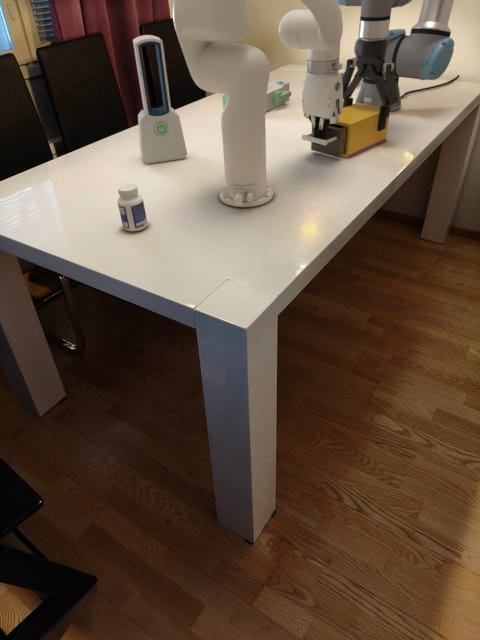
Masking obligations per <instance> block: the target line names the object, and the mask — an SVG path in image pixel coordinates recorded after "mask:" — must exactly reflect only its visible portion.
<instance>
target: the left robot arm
mask: <svg viewBox="0 0 480 640" xmlns="http://www.w3.org/2000/svg"><path fill="white" fill-rule="evenodd" d="M298 2H300V3H302V4H303V5H304V6H305V7H306V8H307V9H292V10H289V11H288V12H287V13H285V14H284V15H283V16H282V18H281V20H280V22H279V24H278V25H279V26H278V36H279V39H280V41H281V42H282V43H283V45H284V46H286V47H288V48H291V49H297V50H307V68H306V70H307V71H306V72H305V74H304V79H303V86H302V93H301V94H302V96H301V109H302V110H301V111H302V112H303V117H304V118H306V119H307V120H309V122H310V124H311V129H312V128H314V137H315V138H319V139H323V140H326V132H327V127H329V125H330V124H334V123H337V122H339V117H338V115H340V114H342V110H343V83H342V76H341V73H342V72H340V71H341V70H342V69H343V64H342V63H340V52H341V39H342V36H343V33H344V32H343V31H344V23H343V22H344V21H343V12H342V9H341V7H340V5H339V3H338V0H298ZM172 21H173V26H174V30H175V33H176V36H177V39H178V43H179V45H180V48H181V52H182V54H183V57H184V60H185V63H186V66H187V69H188V72H189V75H190V77H191V79H192V81H193V82H194V84H195V85H196V86H197V87H198V88H199V89H200V90H203V91H205V92H208V93H212V94H217V95H219V94H220V95H227V96H228V99H227V102H226V105H225V107H224V110H222V113H221V117H220V118H221V119H220V126H221V137H222V153H223V166H224V180H225V181H224V182H225V186H224V187H223V188H222V189H220V191H219V199H220V201H221V202H222V203H224V204H225V205H227V206H231V207H236V208H253V207H258V206H261V205H264V204H266V203H269V202H270V201H271V200H272V199H273V197H274V189H273V188H272V187H271V186H270V185H268V184H267V132H266V131H267V130H266V112H265V107H266V95H267V88H268V82H269V81H270V75H271V74H270V73H271V71H270V70H271V67H270V62H269V59H268V57H267V55H266V54H265V53H264V52H263V51H262V50H261V49H260V48H258V47H256V46H253V45H250V44H244V43H236V42H239V41H241V40H242V39H244V38H245V37H246V36H247V35H248V32H249V31H250V27H251V12H250V6H249V1H248V0H173V4H172ZM313 143H314V142H313ZM314 144H317V145H320V144H318V143H314Z"/></svg>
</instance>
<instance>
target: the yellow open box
mask: <svg viewBox="0 0 480 640" xmlns="http://www.w3.org/2000/svg"><path fill="white" fill-rule="evenodd" d="M379 113H380V107H379V106H373V105H368V104H362V103H356V102H355V103H353V105H350V106H347V107H344V108H343V110H342V114H340V115H338V117H339V122H337V123H334V124H337V125H341V126H346V127H348V131H347V143H346V152H344V153H342V156H341V158H346V159H349V158H352V157H354V156H356V155H359V154H361V153H362V152H364V151H367V150H369V149H371V148H374V147H376V146H378V145H381V144H382V143H384V142H387V134H388V128H389V119H390V116H389V117H388V118H386V126H385V129H383V130H381V131H377V130H378V121H379Z"/></svg>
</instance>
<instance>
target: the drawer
mask: <svg viewBox="0 0 480 640" xmlns="http://www.w3.org/2000/svg"><path fill="white" fill-rule="evenodd" d="M347 131H348V127H346V126H341V125H337V124H330V125H329V127H327V132H326V140H323V139H319V138H315V137H314V128H312V127H311V132H310V133H309V134H302V135H301V140H302V141H307V142H309V143H310V150H311V151H314V152H318V153H322V154H324V155H328V156H333V157H337V158H342V153H344V152H346V143H347ZM313 142H314V143H318V144H320V145H317V144H314V143H313Z"/></svg>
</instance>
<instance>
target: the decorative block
mask: <svg viewBox="0 0 480 640" xmlns="http://www.w3.org/2000/svg"><path fill="white" fill-rule="evenodd" d="M221 97H222V109H223V110H224V107H225V105H226V102H227V99H228V96H227V95H224V94H222V96H221ZM290 97H292V91H291V90H290V82H289V81H288V82H286V81H282V80H278V81H277V80H269V82H268V88H267V95H266V107H265V113H266V112H269V111H272V110H273V109H275V108H278V107H280V106H282V105H284V104H285V102H286V101H288V100H290ZM223 110H222V111H223Z"/></svg>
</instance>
